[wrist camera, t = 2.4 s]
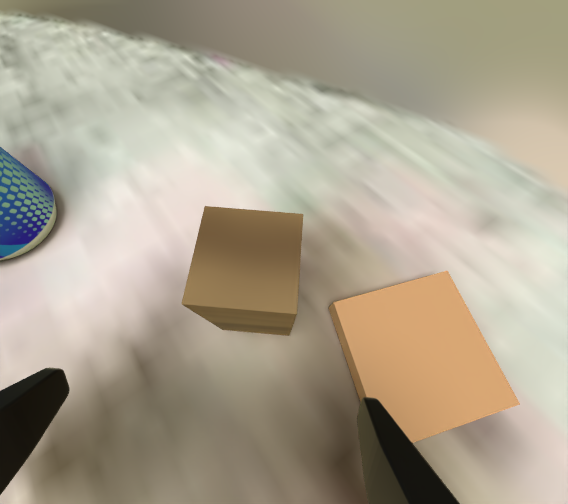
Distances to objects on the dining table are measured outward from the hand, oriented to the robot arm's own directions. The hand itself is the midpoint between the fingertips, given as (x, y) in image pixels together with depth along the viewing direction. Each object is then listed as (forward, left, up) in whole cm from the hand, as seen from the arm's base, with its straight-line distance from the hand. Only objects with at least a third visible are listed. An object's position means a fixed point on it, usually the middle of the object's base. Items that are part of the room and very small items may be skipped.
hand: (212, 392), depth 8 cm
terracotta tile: (+11, -1, -12) cm, 17 cm away
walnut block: (+2, +5, -11) cm, 13 cm away
